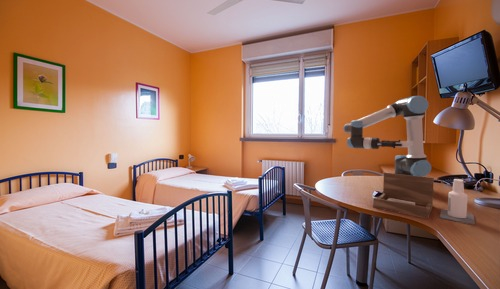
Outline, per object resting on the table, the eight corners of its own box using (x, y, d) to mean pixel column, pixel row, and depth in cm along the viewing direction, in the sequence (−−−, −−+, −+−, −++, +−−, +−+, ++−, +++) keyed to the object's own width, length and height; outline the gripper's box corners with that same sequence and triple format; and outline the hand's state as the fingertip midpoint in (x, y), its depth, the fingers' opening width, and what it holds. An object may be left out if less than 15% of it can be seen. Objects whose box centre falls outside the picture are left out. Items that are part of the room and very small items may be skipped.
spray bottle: (460, 213, 110) (462, 178, 109) (470, 219, 104) (472, 181, 102) (444, 212, 112) (445, 177, 111) (452, 217, 105) (454, 181, 104)
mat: (441, 210, 117) (441, 208, 117) (473, 215, 109) (473, 214, 109) (439, 218, 107) (439, 216, 107) (474, 225, 99) (474, 224, 99)
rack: (383, 197, 140) (384, 172, 138) (432, 206, 123) (433, 177, 122) (373, 207, 123) (373, 179, 122) (428, 218, 107) (429, 186, 105)
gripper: (376, 147, 156) (413, 148, 142) (366, 150, 138) (407, 152, 124) (377, 136, 156) (414, 137, 141) (366, 138, 138) (407, 139, 123)
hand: (411, 144), depth 132 cm, fingers open, 13 cm apart
